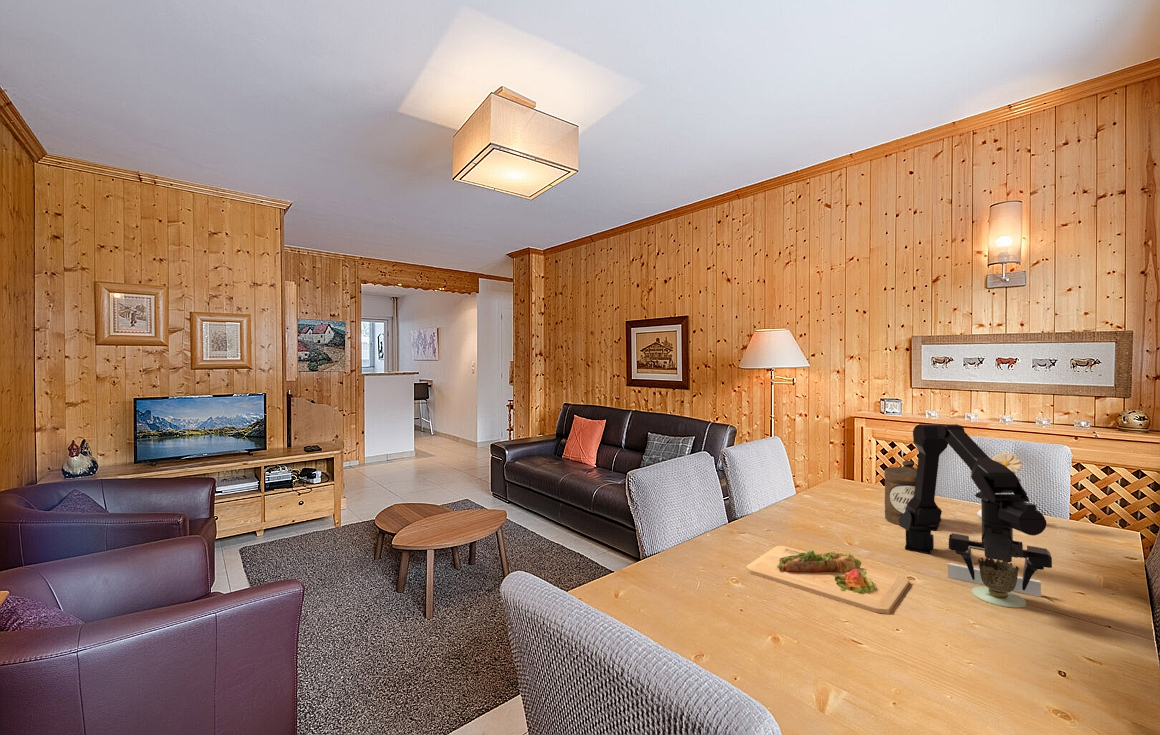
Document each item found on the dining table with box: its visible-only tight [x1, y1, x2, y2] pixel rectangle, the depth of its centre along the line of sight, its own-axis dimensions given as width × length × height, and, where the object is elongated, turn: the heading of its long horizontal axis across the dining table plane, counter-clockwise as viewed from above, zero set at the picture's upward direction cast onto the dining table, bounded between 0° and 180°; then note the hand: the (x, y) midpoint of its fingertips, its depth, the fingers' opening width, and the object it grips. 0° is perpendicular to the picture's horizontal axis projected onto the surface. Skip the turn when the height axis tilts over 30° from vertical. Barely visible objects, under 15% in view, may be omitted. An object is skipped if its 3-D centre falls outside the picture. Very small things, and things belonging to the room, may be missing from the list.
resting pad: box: [971, 586, 1027, 609], centre depth 117 cm, size 10×10×1 cm
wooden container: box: [884, 459, 936, 526], centre depth 173 cm, size 15×15×22 cm
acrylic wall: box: [947, 562, 1042, 598], centre depth 123 cm, size 18×1×4 cm, turn 50°
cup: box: [977, 557, 1020, 598], centre depth 117 cm, size 8×7×8 cm
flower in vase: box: [976, 452, 1023, 519], centre depth 170 cm, size 13×11×25 cm
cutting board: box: [745, 545, 910, 615], centre depth 131 cm, size 35×23×8 cm
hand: (997, 584), depth 117 cm, fingers open, 9 cm apart
